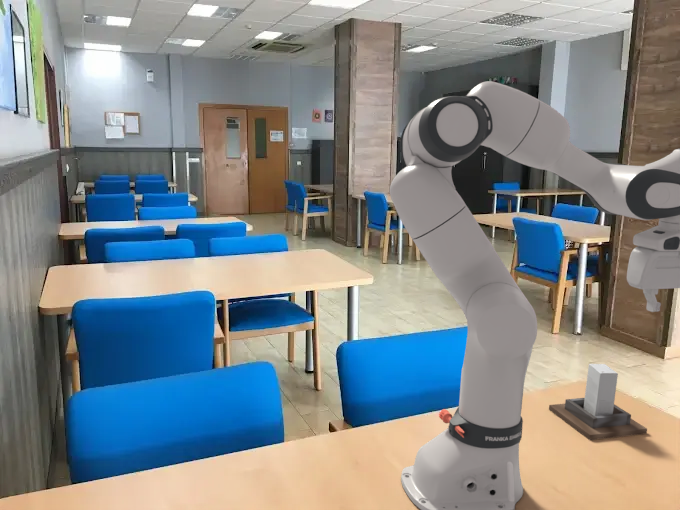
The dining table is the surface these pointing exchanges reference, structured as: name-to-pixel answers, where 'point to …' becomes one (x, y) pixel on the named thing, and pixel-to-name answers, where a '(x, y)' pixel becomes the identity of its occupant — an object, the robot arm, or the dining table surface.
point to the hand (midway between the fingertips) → (673, 310)
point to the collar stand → (597, 421)
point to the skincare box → (600, 390)
